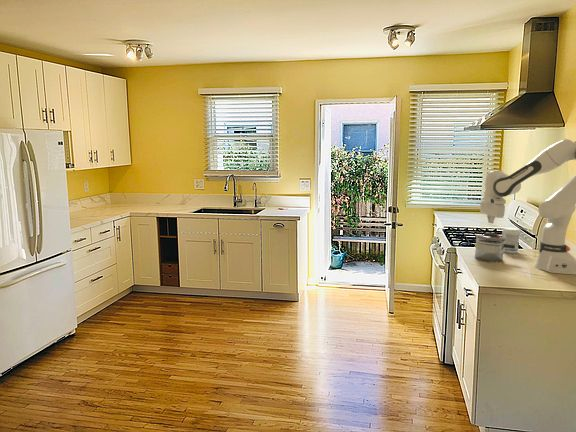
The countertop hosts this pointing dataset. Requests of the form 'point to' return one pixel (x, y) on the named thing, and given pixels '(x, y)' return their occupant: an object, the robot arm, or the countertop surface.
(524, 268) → the countertop surface
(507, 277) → the countertop surface
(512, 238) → the supplement tub
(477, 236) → the cooker lid
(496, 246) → the cooker pot
